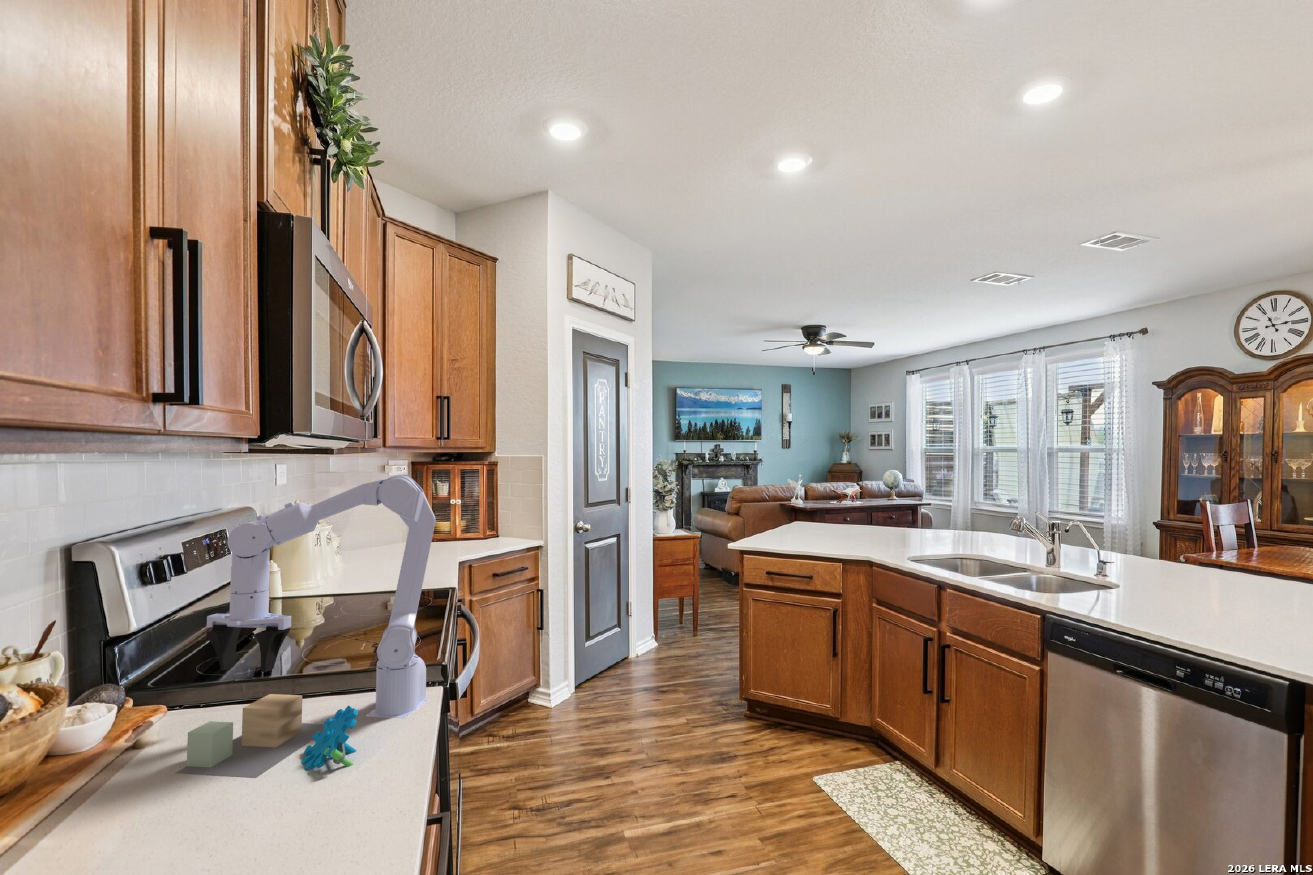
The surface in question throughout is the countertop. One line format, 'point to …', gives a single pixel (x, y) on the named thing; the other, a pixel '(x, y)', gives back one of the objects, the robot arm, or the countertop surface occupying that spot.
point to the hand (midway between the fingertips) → (247, 669)
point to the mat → (256, 756)
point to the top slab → (272, 711)
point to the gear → (332, 740)
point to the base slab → (271, 734)
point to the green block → (209, 744)
